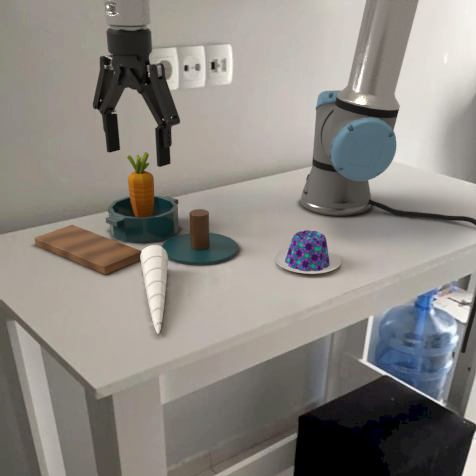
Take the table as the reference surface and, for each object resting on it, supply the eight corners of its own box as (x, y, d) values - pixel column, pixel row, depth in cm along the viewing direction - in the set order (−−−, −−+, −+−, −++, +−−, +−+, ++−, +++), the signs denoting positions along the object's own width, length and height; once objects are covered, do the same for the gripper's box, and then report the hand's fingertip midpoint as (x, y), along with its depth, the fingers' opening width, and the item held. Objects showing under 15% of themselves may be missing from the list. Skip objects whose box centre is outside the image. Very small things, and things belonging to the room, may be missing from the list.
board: (143, 258, 116) (142, 251, 115) (105, 274, 110) (104, 266, 109) (73, 231, 126) (72, 224, 125) (35, 245, 120) (34, 237, 119)
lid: (252, 247, 120) (253, 211, 116) (203, 272, 111) (202, 233, 107) (197, 229, 127) (196, 194, 123) (146, 250, 119) (143, 213, 114)
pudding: (295, 282, 108) (297, 253, 105) (262, 256, 117) (263, 229, 114) (353, 270, 113) (357, 242, 109) (318, 246, 121) (320, 219, 118)
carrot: (127, 231, 126) (119, 153, 117) (141, 223, 130) (135, 147, 121) (148, 236, 124) (142, 157, 115) (162, 228, 128) (157, 151, 119)
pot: (197, 226, 129) (196, 202, 126) (137, 251, 118) (135, 226, 116) (151, 211, 136) (149, 188, 133) (91, 233, 125) (87, 209, 122)
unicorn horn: (132, 337, 93) (129, 308, 90) (142, 269, 112) (139, 243, 109) (165, 336, 93) (163, 307, 90) (168, 268, 112) (167, 243, 110)
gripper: (63, 22, 110) (79, 149, 123) (165, 36, 97) (171, 176, 110) (96, 19, 115) (108, 141, 127) (198, 32, 102) (200, 166, 115)
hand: (138, 158), depth 119 cm, fingers open, 13 cm apart
